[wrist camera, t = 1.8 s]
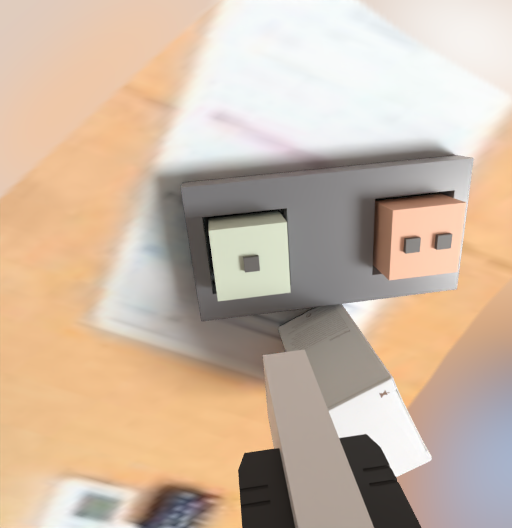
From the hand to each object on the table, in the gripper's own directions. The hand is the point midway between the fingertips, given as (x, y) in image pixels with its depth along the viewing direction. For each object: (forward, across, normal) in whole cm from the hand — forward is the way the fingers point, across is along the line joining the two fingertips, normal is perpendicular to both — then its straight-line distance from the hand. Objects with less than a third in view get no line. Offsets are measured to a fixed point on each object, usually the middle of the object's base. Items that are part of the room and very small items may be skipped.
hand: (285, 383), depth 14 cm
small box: (+16, +6, -10) cm, 20 cm away
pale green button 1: (+16, 0, 0) cm, 16 cm away
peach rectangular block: (+16, +12, 0) cm, 20 cm away
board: (+16, +6, 0) cm, 17 cm away
